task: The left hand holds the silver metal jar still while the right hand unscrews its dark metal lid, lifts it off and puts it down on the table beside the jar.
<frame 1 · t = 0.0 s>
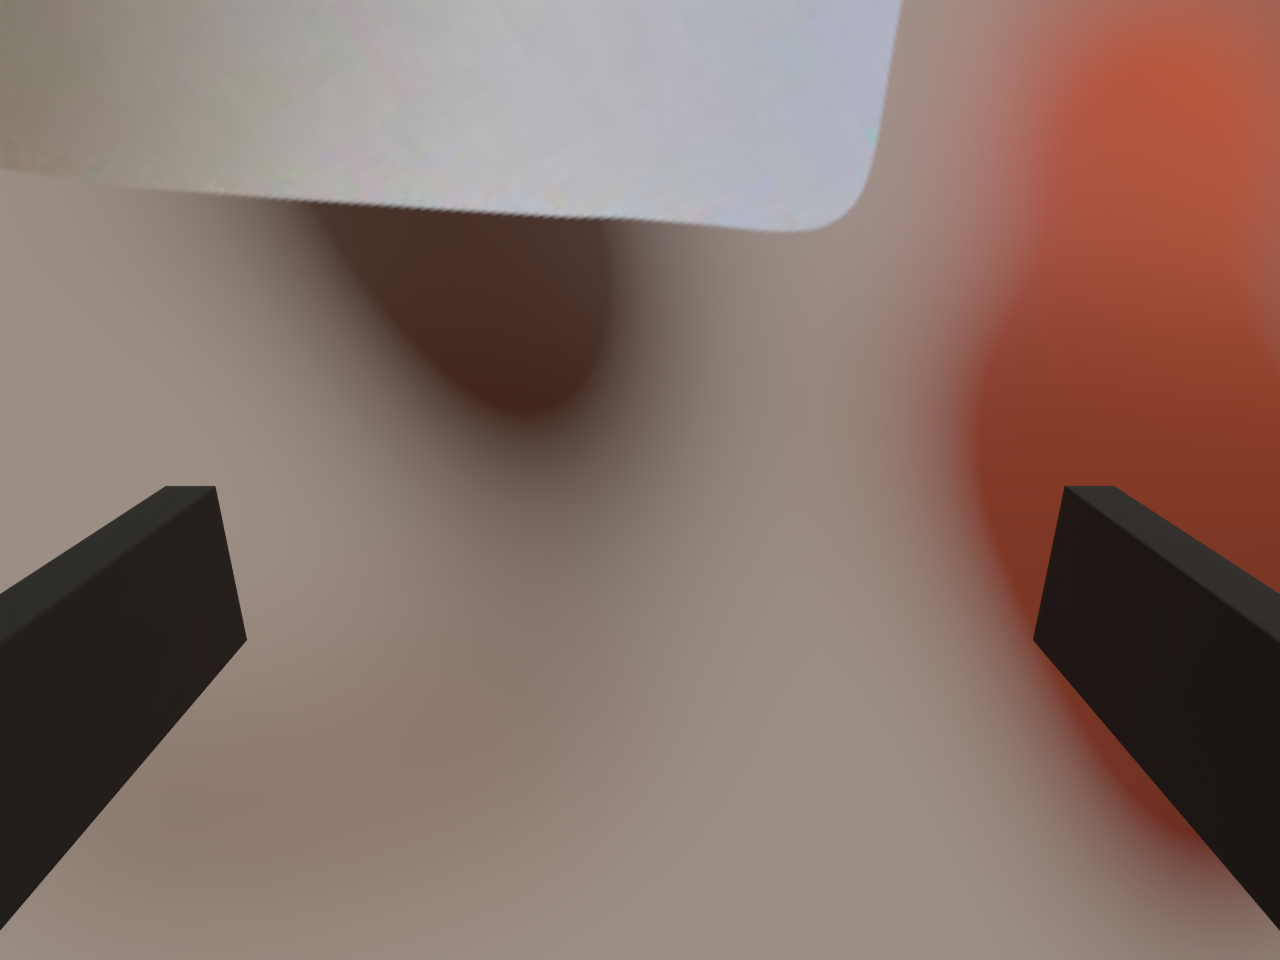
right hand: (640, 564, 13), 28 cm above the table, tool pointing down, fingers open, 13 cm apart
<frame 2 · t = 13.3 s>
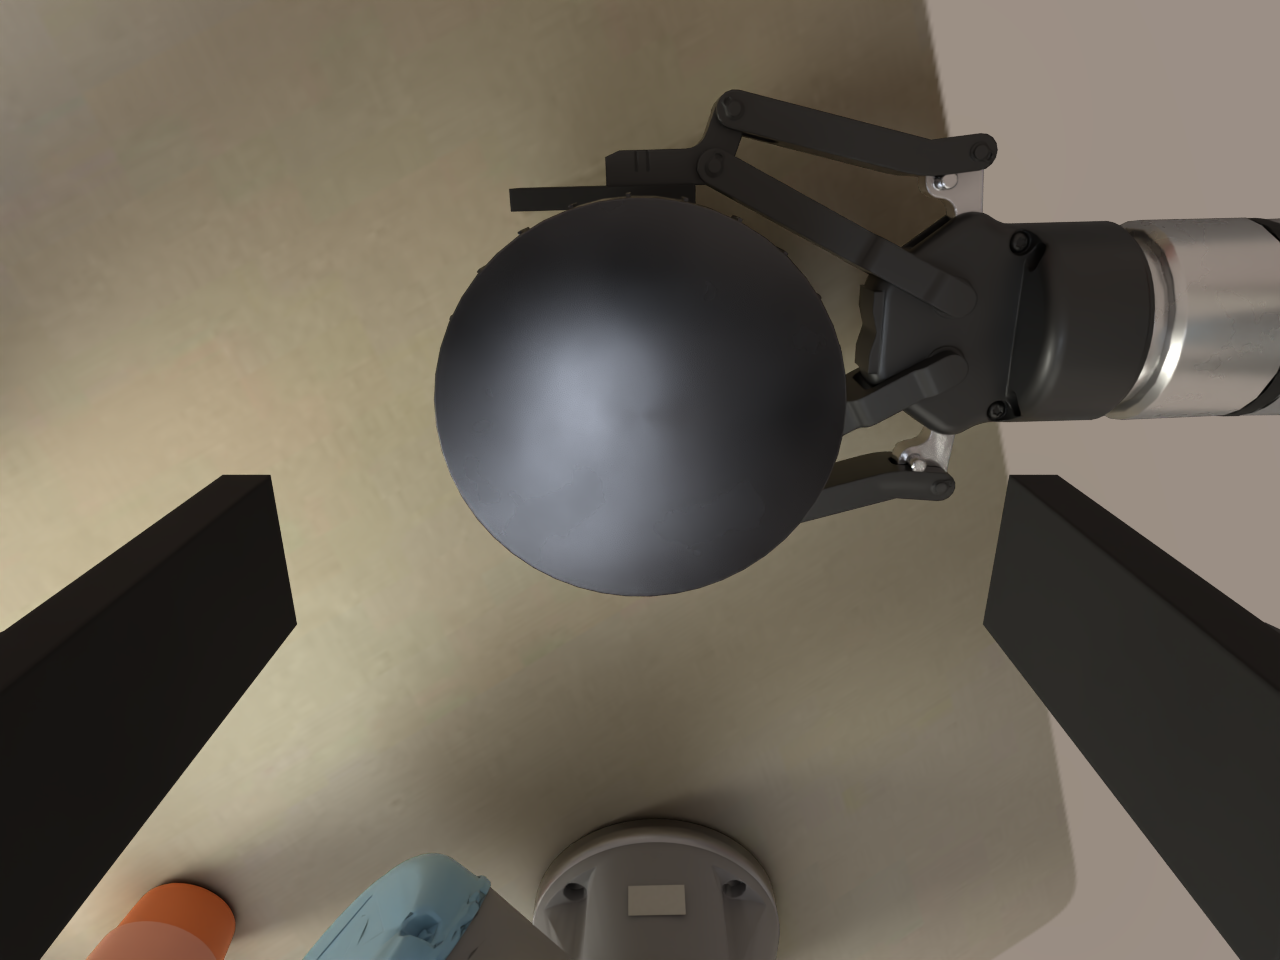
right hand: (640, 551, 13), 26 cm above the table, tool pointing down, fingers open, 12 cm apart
left hand: (526, 337, 31), fingers closed on jar, 9 cm apart
cup with straw: (189, 914, 51), on the table
lid: (640, 411, 21), point 18 cm above the table, screwed on, not yet turned
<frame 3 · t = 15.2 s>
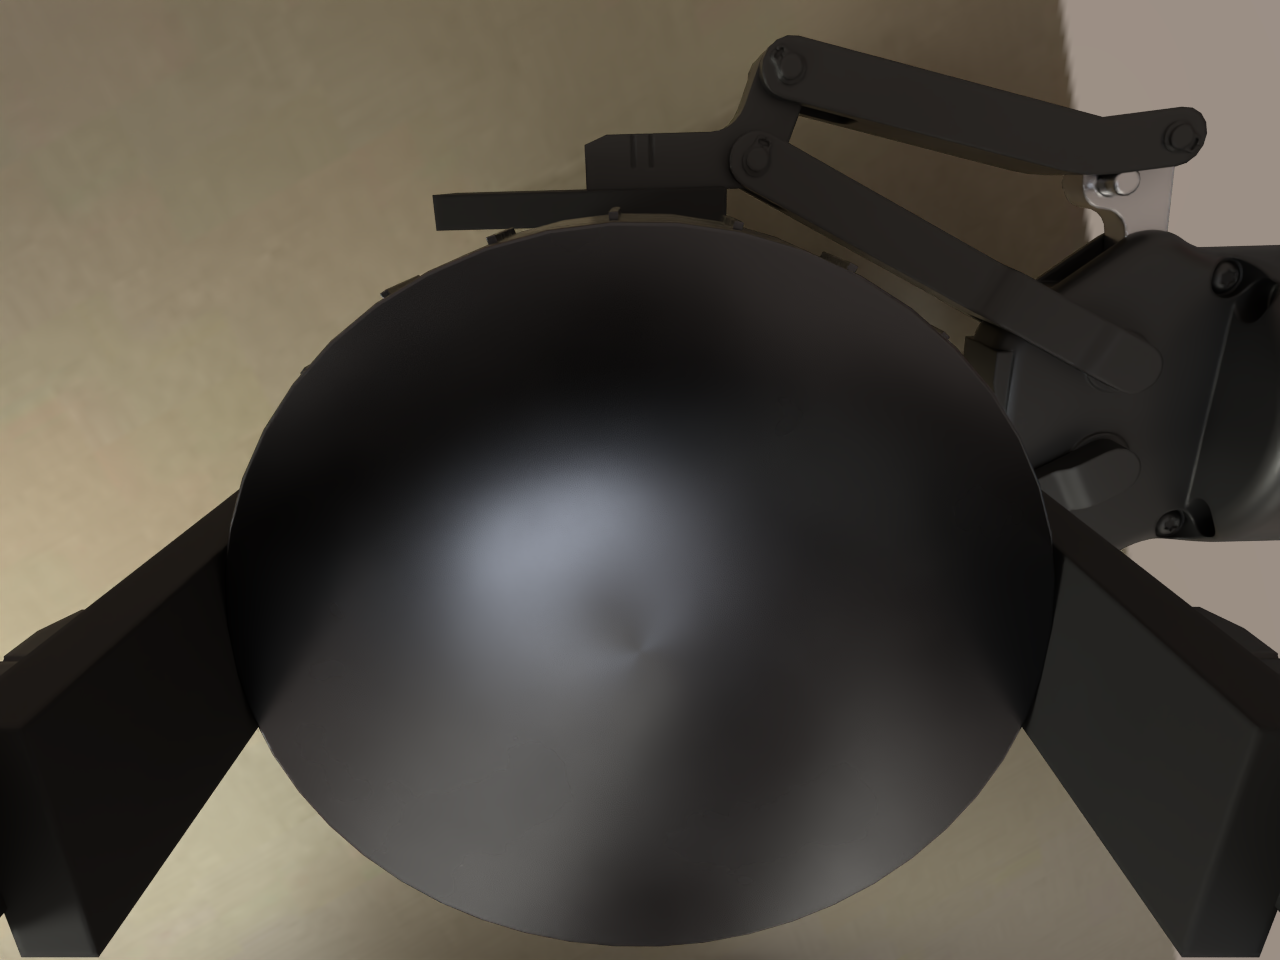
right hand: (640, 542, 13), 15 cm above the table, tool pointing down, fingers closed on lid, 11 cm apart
left hand: (470, 415, 21), fingers closed on jar, 9 cm apart
lid: (640, 636, 11), point 18 cm above the table, screwed on, not yet turned, touching right hand
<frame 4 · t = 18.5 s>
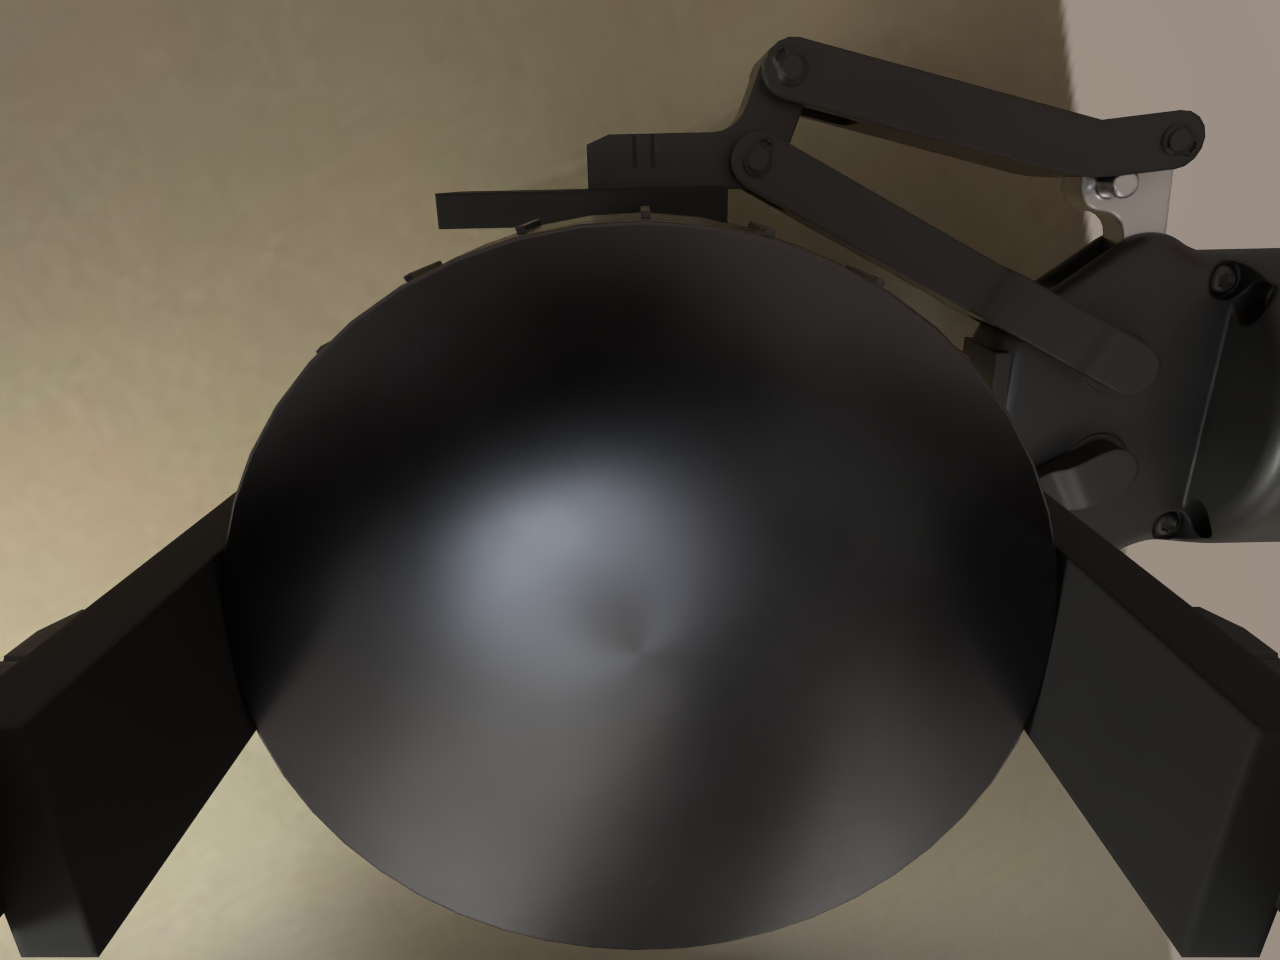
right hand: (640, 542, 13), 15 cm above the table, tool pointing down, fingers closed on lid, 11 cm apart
left hand: (471, 413, 21), fingers closed on jar, 9 cm apart
lid: (640, 638, 10), point 18 cm above the table, turned 101° so far, risen 0.2 cm, still on its thread, touching right hand
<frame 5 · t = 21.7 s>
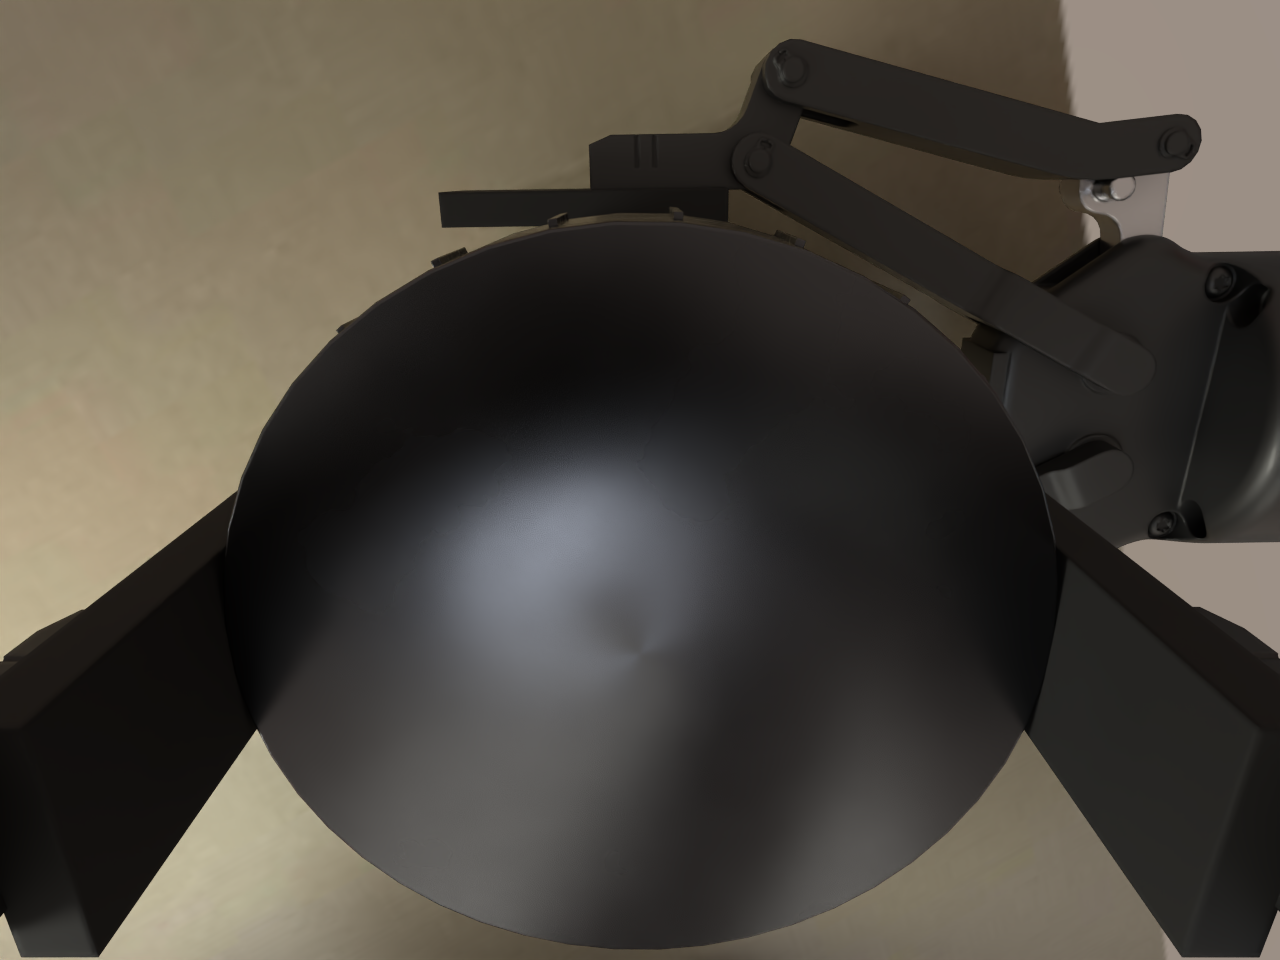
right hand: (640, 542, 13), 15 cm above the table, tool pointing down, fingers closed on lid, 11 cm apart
left hand: (472, 411, 21), fingers closed on jar, 9 cm apart
lid: (640, 638, 10), point 18 cm above the table, turned 203° so far, risen 0.3 cm, still on its thread, touching right hand
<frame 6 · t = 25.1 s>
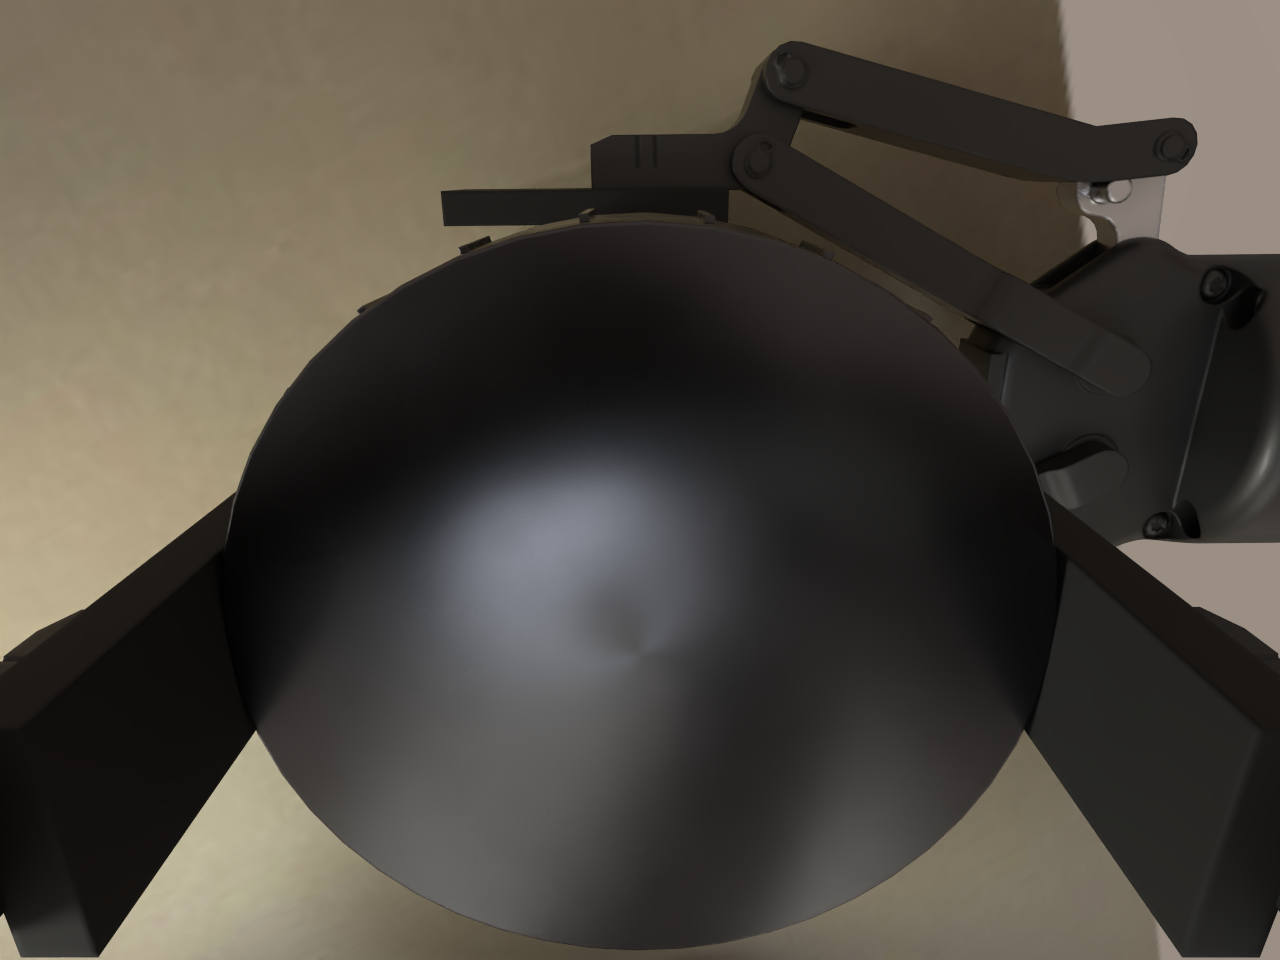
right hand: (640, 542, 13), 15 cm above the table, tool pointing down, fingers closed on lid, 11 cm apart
left hand: (473, 408, 21), fingers closed on jar, 9 cm apart
lid: (640, 638, 10), point 18 cm above the table, turned 304° so far, risen 0.5 cm, still on its thread, touching right hand
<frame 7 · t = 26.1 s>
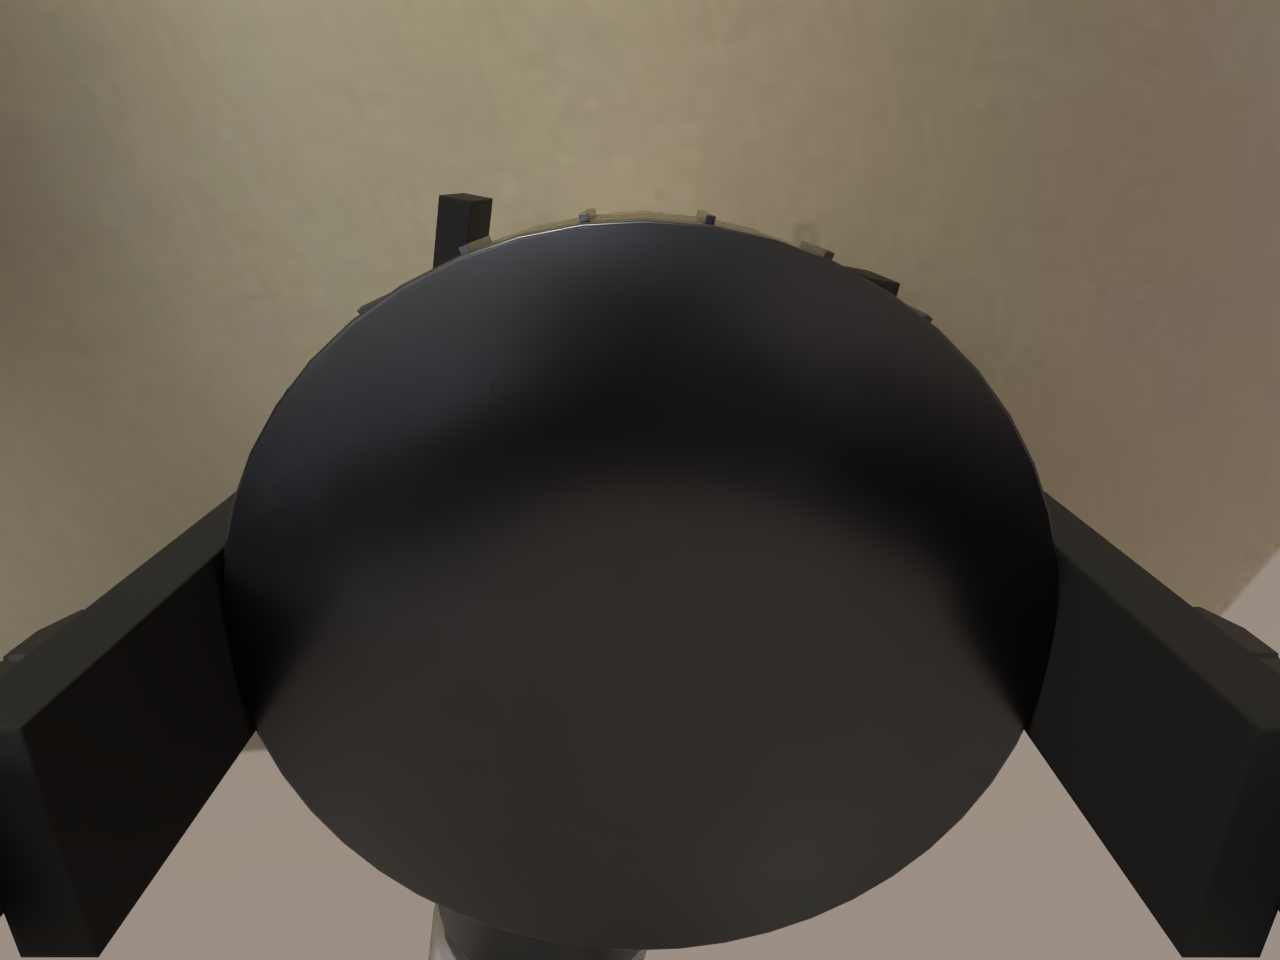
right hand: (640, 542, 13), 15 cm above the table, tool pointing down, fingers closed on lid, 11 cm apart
lid: (640, 638, 10), point 18 cm above the table, off its thread, touching right hand
when the right hand's fingers open (0 cm above the table, at t = 31.8 s): lid drops 2 cm, point 2 cm above the table.
when the left hand's fingers open (7 cm above the table, at t = 32.8 s): jar stays where it is, on the table.
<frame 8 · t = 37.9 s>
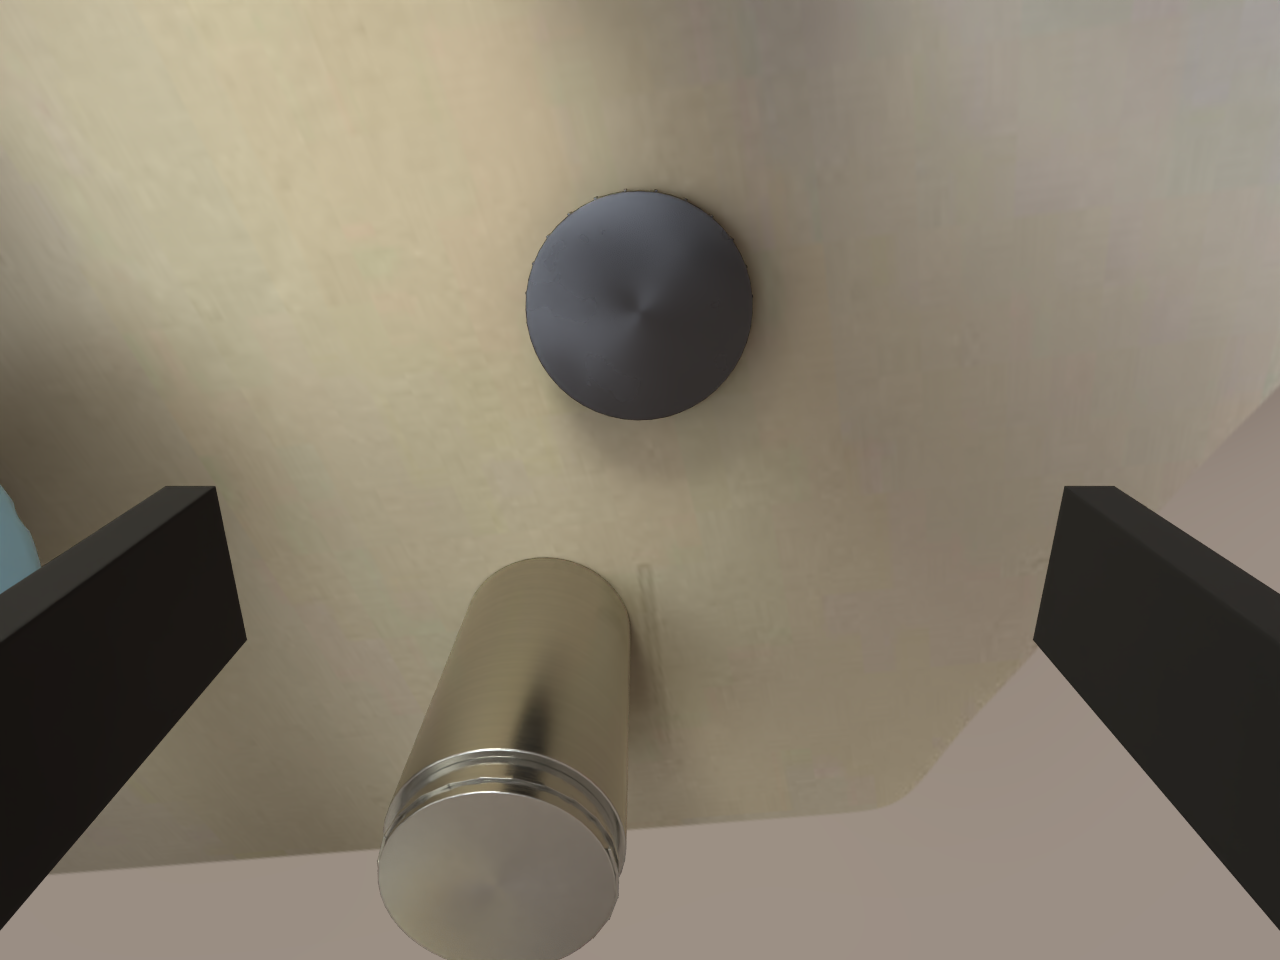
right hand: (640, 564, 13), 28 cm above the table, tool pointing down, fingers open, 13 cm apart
jar: (548, 631, 45), on the table
lid: (639, 310, 37), point 2 cm above the table, off its thread
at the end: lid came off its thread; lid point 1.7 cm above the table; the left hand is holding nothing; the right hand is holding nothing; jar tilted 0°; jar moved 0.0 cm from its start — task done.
